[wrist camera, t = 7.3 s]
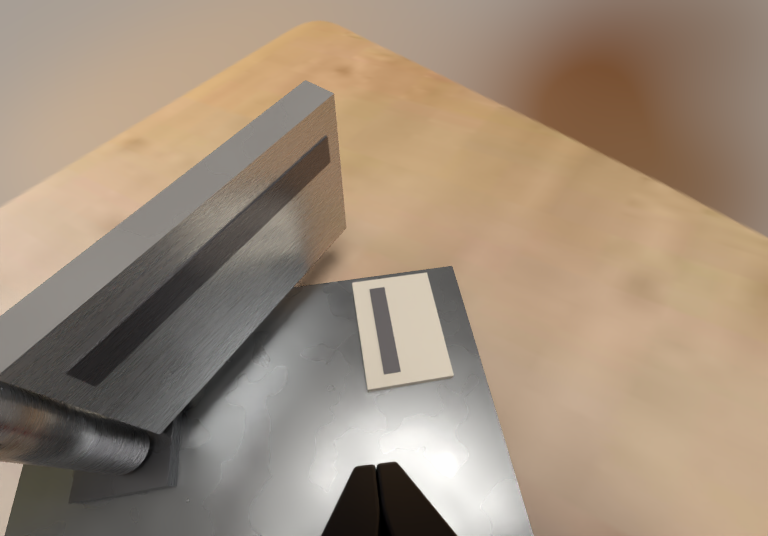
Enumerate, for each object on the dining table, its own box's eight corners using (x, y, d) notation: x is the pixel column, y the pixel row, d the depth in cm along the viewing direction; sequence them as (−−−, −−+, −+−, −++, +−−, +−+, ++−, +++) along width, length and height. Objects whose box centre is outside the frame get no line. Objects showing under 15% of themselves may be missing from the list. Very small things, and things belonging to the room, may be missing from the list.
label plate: (452, 378, 17) (454, 374, 16) (368, 392, 16) (367, 389, 16) (425, 276, 19) (427, 271, 19) (352, 286, 19) (351, 281, 18)
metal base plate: (570, 706, 13) (605, 742, 11) (-42, 871, 11) (-133, 952, 9) (447, 280, 21) (455, 257, 19) (82, 331, 19) (49, 311, 17)
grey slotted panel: (120, 485, 13) (-163, 462, 6) (91, 456, 14) (-207, 404, 7) (349, 230, 19) (336, 66, 12) (323, 215, 20) (295, 48, 12)
